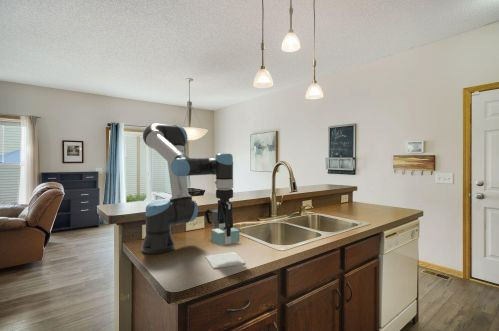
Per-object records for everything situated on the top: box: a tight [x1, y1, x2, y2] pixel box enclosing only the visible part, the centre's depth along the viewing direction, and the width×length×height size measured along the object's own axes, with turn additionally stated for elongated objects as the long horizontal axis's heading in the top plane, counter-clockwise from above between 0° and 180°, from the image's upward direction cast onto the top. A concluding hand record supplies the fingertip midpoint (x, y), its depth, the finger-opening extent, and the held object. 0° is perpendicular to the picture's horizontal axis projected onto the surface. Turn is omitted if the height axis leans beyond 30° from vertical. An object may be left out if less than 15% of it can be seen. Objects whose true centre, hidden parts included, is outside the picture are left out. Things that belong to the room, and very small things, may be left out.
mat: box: [205, 251, 246, 270], centre depth 117 cm, size 14×14×1 cm
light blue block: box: [210, 227, 240, 246], centre depth 117 cm, size 10×8×5 cm
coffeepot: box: [204, 208, 219, 229], centre depth 153 cm, size 15×9×18 cm, turn 82°
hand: (224, 240), depth 117 cm, fingers closed on light blue block, 8 cm apart
